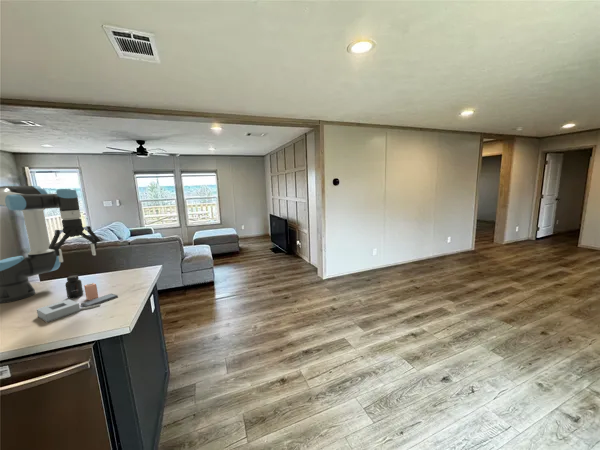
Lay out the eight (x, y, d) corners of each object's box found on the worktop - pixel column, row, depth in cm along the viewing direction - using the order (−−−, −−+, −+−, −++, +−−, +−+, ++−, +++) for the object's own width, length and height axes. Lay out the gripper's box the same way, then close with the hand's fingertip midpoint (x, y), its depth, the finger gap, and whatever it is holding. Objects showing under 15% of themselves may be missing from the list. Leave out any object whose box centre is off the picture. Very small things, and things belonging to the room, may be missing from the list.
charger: (86, 299, 136) (83, 284, 135) (95, 296, 140) (92, 281, 138) (89, 300, 134) (87, 285, 133) (98, 297, 138) (96, 283, 136)
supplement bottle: (73, 299, 136) (70, 278, 135) (64, 298, 138) (60, 278, 136) (86, 294, 143) (83, 274, 141) (77, 293, 145) (74, 274, 143)
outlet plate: (38, 316, 117) (36, 309, 117) (70, 306, 128) (68, 299, 127) (47, 322, 112) (45, 314, 111) (80, 310, 122) (78, 303, 121)
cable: (79, 310, 122) (78, 308, 122) (79, 309, 123) (79, 308, 123) (100, 306, 126) (100, 304, 126) (100, 305, 127) (100, 303, 127)
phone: (81, 305, 128) (80, 303, 128) (111, 295, 140) (111, 293, 140) (87, 308, 125) (86, 306, 125) (117, 297, 137) (117, 295, 137)
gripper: (40, 222, 113) (48, 265, 116) (103, 216, 135) (109, 253, 138) (34, 221, 117) (43, 264, 120) (97, 216, 139) (103, 252, 141)
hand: (78, 258), depth 129 cm, fingers open, 13 cm apart
